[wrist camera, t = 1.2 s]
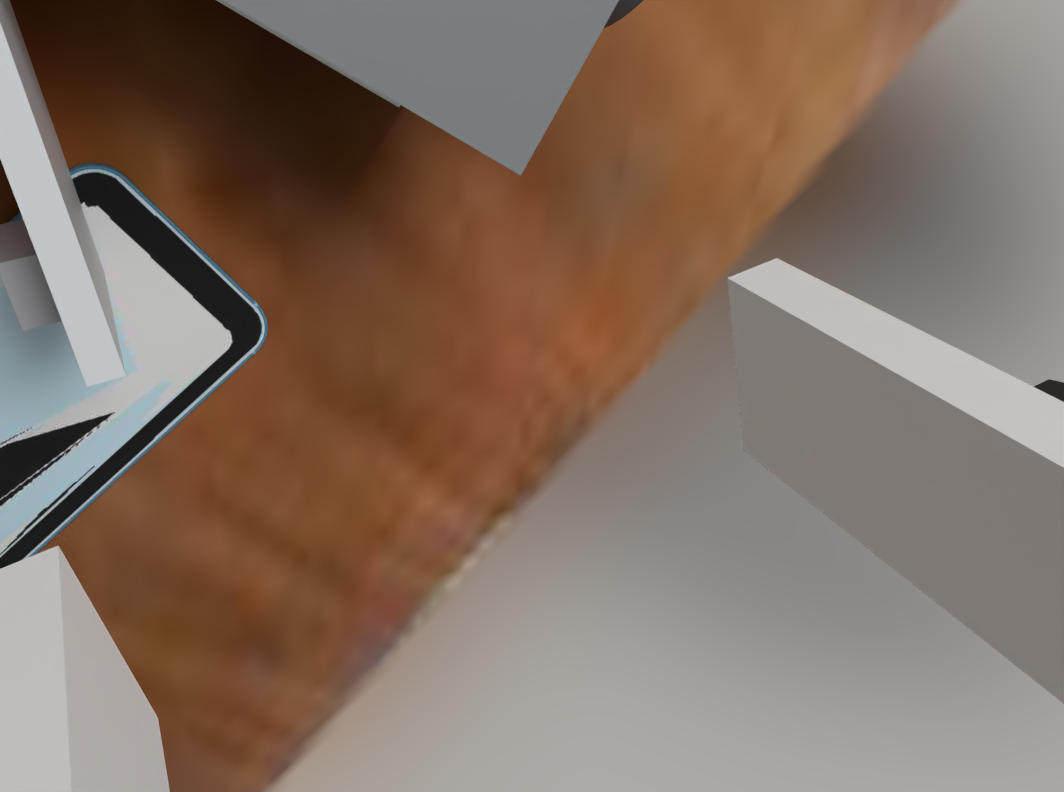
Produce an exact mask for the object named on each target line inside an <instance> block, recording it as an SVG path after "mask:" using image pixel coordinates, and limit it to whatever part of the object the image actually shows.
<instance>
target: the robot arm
mask: <svg viewBox="0 0 1064 792" xmlns="http://www.w3.org/2000/svg"><path fill="white" fill-rule="evenodd" d="M727 279H728V290H729V299H730V311H731V321H732V332H733V343H734V353H735V364H736V375H737V385H738V396H739V406H740V416H741V428H742V438H743V449H744V451H745V452H746V453H747V454H749V455H750V456H751V457H752V458H754V459H755V460H756V461H757V462H759V463H760V464H761V465H763V466H764V467H765V468H766V469H768V470H769V471H770V472H772V473H773V474H774V475H775V476H776V477H778V478H779V479H780V480H782V481H783V482H784V483H785V484H787V485H788V486H789V487H791V488H792V489H793V490H794V491H795V492H797V493H798V494H799V495H801V496H802V497H803V498H804V499H806V500H807V501H808V502H809V503H811V504H812V505H813V506H814V507H816V508H817V509H818V510H819V511H821V512H822V513H823V514H825V515H826V516H827V517H829V518H830V519H831V520H832V521H833V522H835V523H836V524H837V525H838V526H840V527H841V528H842V529H844V530H845V531H846V532H847V533H849V534H850V535H851V536H852V537H854V538H855V539H856V540H857V541H859V542H860V543H861V544H863V545H864V546H865V547H866V548H868V549H869V550H870V551H871V552H873V553H874V554H875V555H876V556H878V557H879V558H880V559H882V560H883V561H884V562H885V563H886V564H888V565H889V566H891V567H892V568H893V569H894V570H895V571H897V572H898V573H899V574H900V575H902V576H903V577H904V578H906V579H907V580H908V581H909V582H911V583H912V584H913V585H914V586H916V587H917V588H918V589H919V590H921V591H922V592H923V593H925V594H926V595H927V596H928V597H930V598H931V599H932V600H933V601H935V602H936V603H937V604H939V605H940V606H941V607H942V608H944V609H945V610H946V611H947V612H948V613H950V614H951V615H952V616H954V617H955V618H956V619H958V620H959V621H960V622H961V623H962V624H964V625H965V626H966V627H967V628H969V629H970V630H971V631H973V632H974V633H975V634H976V635H978V636H979V637H980V638H982V639H983V640H984V641H985V642H986V643H988V644H989V645H990V646H991V647H993V648H994V649H995V650H997V651H998V652H999V653H1001V654H1002V655H1003V656H1004V657H1006V658H1007V659H1008V660H1009V661H1010V662H1012V663H1013V664H1014V665H1016V666H1017V667H1018V668H1019V669H1021V670H1022V671H1023V672H1024V673H1026V674H1027V675H1028V676H1029V677H1031V678H1032V679H1033V680H1035V681H1036V682H1037V683H1038V684H1040V685H1041V686H1042V687H1043V688H1045V689H1046V690H1047V691H1049V692H1050V693H1051V694H1052V695H1053V696H1055V697H1056V698H1057V699H1059V700H1060V701H1061V702H1062V703H1064V383H1062V382H1058V381H1053V380H1047V381H1045V382H1043V383H1041V384H1038V385H1036V386H1034V387H1033V386H1030V385H1029V384H1027V383H1025V382H1023V381H1021V380H1019V379H1017V378H1015V377H1013V376H1011V375H1009V374H1007V373H1005V372H1003V371H1001V370H999V369H997V368H995V367H993V366H991V365H989V364H987V363H985V362H983V361H981V360H979V359H977V358H975V357H973V356H971V355H969V354H967V353H965V352H962V351H961V350H959V349H957V348H955V347H953V346H951V345H949V344H947V343H945V342H943V341H941V340H939V339H937V338H935V337H933V336H931V335H929V334H927V333H925V332H923V331H921V330H919V329H917V328H915V327H913V326H911V325H909V324H907V323H905V322H903V321H901V320H899V319H897V318H895V317H893V316H891V315H889V314H887V313H885V312H883V311H881V310H879V309H877V308H875V307H873V306H871V305H869V304H867V303H865V302H863V301H861V300H859V299H857V298H855V297H853V296H851V295H849V294H847V293H845V292H843V291H841V290H839V289H837V288H835V287H833V286H831V285H829V284H827V283H825V282H823V281H821V280H819V279H817V278H815V277H813V276H811V275H809V274H807V273H805V272H803V271H801V270H799V269H797V268H795V267H793V266H791V265H789V264H787V263H785V262H783V261H781V260H779V259H777V258H776V259H774V260H771V261H769V262H766V263H764V264H761V265H759V266H756V267H754V268H751V269H749V270H746V271H744V272H741V273H739V274H736V275H734V276H731V277H729V278H727ZM0 792H170V790H169V784H168V777H167V771H166V765H165V759H164V753H163V746H162V740H161V734H160V728H159V722H158V717H157V716H156V714H155V712H154V710H153V709H152V707H151V705H150V703H149V702H148V700H147V698H146V697H145V695H144V693H143V691H142V690H141V688H140V686H139V684H138V683H137V681H136V679H135V677H134V676H133V674H132V672H131V671H130V669H129V667H128V665H127V664H126V662H125V660H124V658H123V657H122V655H121V653H120V652H119V650H118V648H117V646H116V645H115V643H114V641H113V639H112V638H111V636H110V634H109V632H108V631H107V629H106V627H105V626H104V624H103V622H102V620H101V619H100V617H99V615H98V613H97V612H96V610H95V608H94V606H93V605H92V603H91V601H90V600H89V598H88V596H87V594H86V593H85V591H84V589H83V587H82V586H81V584H80V582H79V581H78V579H77V577H76V575H75V574H74V572H73V570H72V568H71V567H70V565H69V563H68V561H67V560H66V558H65V556H64V555H63V553H62V551H61V549H60V548H59V546H56V547H53V548H51V549H48V550H46V551H43V552H41V553H38V554H36V555H33V556H31V557H28V558H26V559H23V560H21V561H18V562H16V563H13V564H11V565H8V566H6V567H3V568H1V569H0Z"/></svg>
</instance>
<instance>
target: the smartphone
mask: <svg viewBox="0 0 1064 792" xmlns="http://www.w3.org/2000/svg"><path fill="white" fill-rule="evenodd" d="M69 172H70V175H71V178H72V181H73V183H74V186H75V189H76V192H77V195H78V198H79V201H80V204H81V206H82V209H83V212H84V215H85V218H86V221H87V224H88V227H89V229H90V232H91V235H92V238H93V241H94V244H95V247H96V250H97V252H98V255H99V258H100V261H101V264H102V267H103V270H104V273H105V278H106V283H107V287H108V292H109V297H110V302H111V306H112V311H113V316H114V321H115V326H116V330H117V335H118V340H119V345H120V350H121V354H122V359H123V364H124V369H125V373H126V376H124V377H120V378H117V379H113V380H109V381H106V382H102V383H99V384H95V385H91V386H88V387H87V385H86V383H85V380H84V377H83V375H82V372H81V370H80V367H79V364H78V362H77V359H76V356H75V354H74V351H73V349H72V346H71V343H70V341H69V338H68V335H67V333H66V330H65V328H64V325H63V322H62V321H61V322H57V323H53V324H49V325H46V326H42V327H38V328H34V329H30V330H26V331H23V330H22V327H21V325H20V323H19V320H18V318H17V315H16V313H15V310H14V308H13V305H12V303H11V300H10V298H9V295H8V293H7V290H6V288H5V285H4V283H3V280H2V278H1V276H0V569H1V568H3V567H6V566H8V565H11V564H13V563H16V562H18V561H21V560H23V559H26V558H28V557H31V556H33V555H35V554H36V553H37V552H38V551H39V550H41V549H42V548H43V547H44V546H45V545H46V544H47V543H48V542H49V541H50V540H51V539H53V538H54V537H55V536H56V535H57V534H58V533H59V532H60V531H61V530H62V529H64V528H65V527H66V526H67V525H68V524H69V523H70V522H71V521H72V520H73V519H74V518H76V517H77V516H78V515H79V514H80V513H81V512H82V511H83V510H84V509H85V508H86V507H88V506H89V505H90V504H91V503H92V502H93V501H94V500H95V499H96V498H97V497H99V496H100V495H101V494H102V493H103V492H104V491H105V490H106V489H107V488H108V487H109V486H111V485H112V484H113V483H114V482H115V481H116V480H117V479H118V478H119V477H120V476H121V475H123V474H124V473H125V472H126V471H127V470H128V469H129V468H130V467H131V466H132V465H134V464H135V463H136V462H137V461H138V460H139V459H140V458H141V457H142V456H143V455H144V454H146V453H147V452H148V451H149V450H150V449H151V448H152V447H153V446H154V445H155V444H156V443H158V442H159V441H160V440H161V439H162V438H163V437H164V436H165V435H166V434H167V433H169V432H170V431H171V430H172V429H173V428H174V427H175V426H176V425H177V424H178V423H179V422H181V421H182V420H183V419H184V418H185V417H186V416H187V415H188V414H189V413H190V412H191V411H193V410H194V409H195V408H196V407H197V406H198V405H199V404H200V403H201V402H202V401H204V400H205V399H206V398H207V397H208V396H209V395H210V394H211V393H212V392H213V391H214V390H216V389H217V388H218V387H219V386H220V385H221V384H222V383H223V382H224V381H225V380H226V379H228V378H229V377H230V376H231V375H232V374H233V373H234V372H235V371H236V370H237V369H239V368H240V367H241V366H242V365H243V364H244V363H245V362H246V361H247V360H248V359H249V358H251V357H252V356H253V355H254V354H255V353H256V352H257V351H258V350H259V349H260V348H261V346H262V345H263V343H264V341H265V339H266V335H267V329H268V325H267V319H266V316H265V314H264V312H263V311H262V309H261V307H260V306H259V305H258V304H257V302H256V301H255V300H254V299H253V298H252V297H250V296H249V295H248V294H247V293H246V292H245V291H244V290H243V289H242V288H241V287H240V286H239V285H238V284H237V283H236V282H235V281H234V280H233V279H232V278H231V277H230V276H228V275H227V273H226V272H225V271H223V270H222V269H221V268H220V267H219V266H218V265H217V264H216V263H215V262H214V261H213V260H212V259H211V258H210V257H209V256H208V255H207V254H206V253H205V252H204V251H203V250H201V249H200V248H199V247H198V246H197V245H196V244H195V243H194V242H193V241H192V240H191V239H190V238H189V237H188V236H187V235H186V234H185V233H184V232H183V231H182V230H181V229H180V228H179V227H178V226H177V225H176V224H175V223H174V222H173V221H172V220H170V219H169V218H168V217H167V216H166V215H165V214H164V213H163V212H162V211H161V210H160V209H159V208H158V207H157V206H156V205H155V204H154V203H152V202H151V200H150V199H149V198H147V197H146V196H145V195H144V194H143V193H142V192H141V191H140V190H139V189H138V188H137V187H136V186H135V185H134V184H133V183H132V182H131V181H130V180H129V179H128V178H127V177H126V176H125V175H123V174H122V173H121V172H120V171H118V170H116V169H114V168H113V167H110V166H107V165H104V164H99V163H87V164H81V165H78V166H75V167H73V168H71V169H69ZM22 219H23V217H22V215H21V212H20V213H19V214H17V215H16V216H15V217H14V218H13V219H12V220H10V221H9V222H13V221H17V220H22ZM9 222H8V223H9Z"/></svg>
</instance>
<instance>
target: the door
mask: <svg viewBox="0 0 1064 792" xmlns="http://www.w3.org/2000/svg"><path fill="white" fill-rule="evenodd" d="M0 159H1V162H2V165H3V167H4V170H5V173H6V175H7V178H8V180H9V183H10V186H11V188H12V191H13V194H14V196H15V199H16V201H17V204H18V207H19V209H20V212H21V215H22V217H23V219H22V220H17V221H13V222H9V223H4V224H0V276H1V278H2V280H3V283H4V285H5V288H6V290H7V293H8V295H9V298H10V300H11V303H12V305H13V308H14V310H15V313H16V315H17V318H18V320H19V323H20V325H21V327H22V330H23V331H26V330H30V329H34V328H38V327H42V326H46V325H49V324H53V323H57V322H61V321H62V322H63V325H64V328H65V330H66V333H67V335H68V338H69V341H70V343H71V346H72V349H73V351H74V354H75V356H76V359H77V362H78V364H79V367H80V370H81V372H82V375H83V377H84V380H85V383H86V385H87V387H88V386H91V385H95V384H99V383H102V382H106V381H109V380H113V379H117V378H120V377H124V376H126V373H125V369H124V364H123V359H122V354H121V350H120V345H119V340H118V335H117V330H116V326H115V321H114V316H113V311H112V306H111V302H110V297H109V292H108V287H107V283H106V278H105V273H104V270H103V267H102V264H101V261H100V258H99V255H98V252H97V250H96V247H95V244H94V241H93V238H92V235H91V232H90V229H89V227H88V224H87V221H86V218H85V215H84V212H83V209H82V206H81V204H80V201H79V198H78V195H77V192H76V189H75V186H74V183H73V181H72V178H71V175H70V172H69V169H68V166H67V163H66V160H65V158H64V155H63V152H62V149H61V146H60V143H59V140H58V137H57V135H56V132H55V129H54V126H53V123H52V120H51V117H50V114H49V112H48V109H47V106H46V103H45V100H44V97H43V94H42V91H41V89H40V86H39V83H38V80H37V77H36V74H35V71H34V68H33V66H32V63H31V60H30V57H29V54H28V51H27V48H26V45H25V43H24V40H23V37H22V34H21V31H20V28H19V25H18V22H17V20H16V17H15V14H14V11H13V8H12V5H11V2H10V0H0Z"/></svg>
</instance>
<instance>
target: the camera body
mask: <svg viewBox="0 0 1064 792" xmlns="http://www.w3.org/2000/svg"><path fill="white" fill-rule="evenodd" d="M216 1H218V2H220V3H221V4H223V5H225V6H226V7H228V8H230V9H232V10H233V11H235V12H237V13H238V14H240V15H242V16H244V17H245V18H247V19H249V20H250V21H252V22H254V23H255V24H257V25H259V26H261V27H262V28H264V29H266V30H267V31H269V32H271V33H273V34H274V35H276V36H278V37H279V38H281V39H283V40H284V41H286V42H288V43H290V44H291V45H293V46H295V47H296V48H298V49H300V50H302V51H303V52H305V53H307V54H308V55H310V56H312V57H313V58H315V59H317V60H319V61H320V62H322V63H324V64H325V65H327V66H329V67H331V68H332V69H334V70H336V71H337V72H339V73H341V74H342V75H344V76H346V77H348V78H349V79H351V80H353V81H354V82H356V83H358V84H360V85H361V86H363V87H365V88H366V89H368V90H370V91H372V92H373V93H375V94H377V95H378V96H380V97H382V98H383V99H385V100H387V101H389V102H390V103H392V104H394V105H395V106H397V107H400V105H402V106H403V107H405V108H407V109H408V110H410V111H412V112H414V113H415V114H417V115H419V116H420V117H422V118H424V119H425V120H427V121H429V122H431V123H432V124H434V125H436V126H437V127H439V128H441V129H442V130H444V131H446V132H448V133H449V134H451V135H453V136H454V137H456V138H458V139H459V140H461V141H463V142H465V143H466V144H468V145H470V146H471V147H473V148H475V149H476V150H478V151H480V152H482V153H483V154H485V155H487V156H488V157H490V158H492V159H493V160H495V161H497V162H499V163H500V164H502V165H504V166H505V167H507V168H509V169H510V170H512V171H514V172H516V173H517V174H519V175H521V174H522V172H523V171H524V169H525V167H526V165H527V163H528V162H529V160H530V158H531V156H532V154H533V153H534V151H535V149H536V147H537V146H538V144H539V142H540V140H541V138H542V137H543V135H544V133H545V131H546V129H547V128H548V126H549V124H550V122H551V121H552V119H553V117H554V115H555V113H556V112H557V110H558V108H559V106H560V104H561V103H562V101H563V99H564V97H565V96H566V94H567V92H568V90H569V88H570V87H571V85H572V83H573V81H574V80H575V78H576V76H577V74H578V72H579V71H580V69H581V67H582V65H583V63H584V62H585V60H586V58H587V56H588V55H589V53H590V51H591V49H592V47H593V46H594V44H595V42H596V40H597V38H598V37H599V35H600V33H601V31H602V30H603V28H605V27H607V26H609V25H612V24H613V23H615V22H617V21H618V20H620V19H621V18H623V17H624V16H625V15H627V14H628V13H629V12H631V11H632V10H633V9H634V8H635V7H636V6H638V5H639V4H640V3H641V2H642V1H643V0H216Z"/></svg>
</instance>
